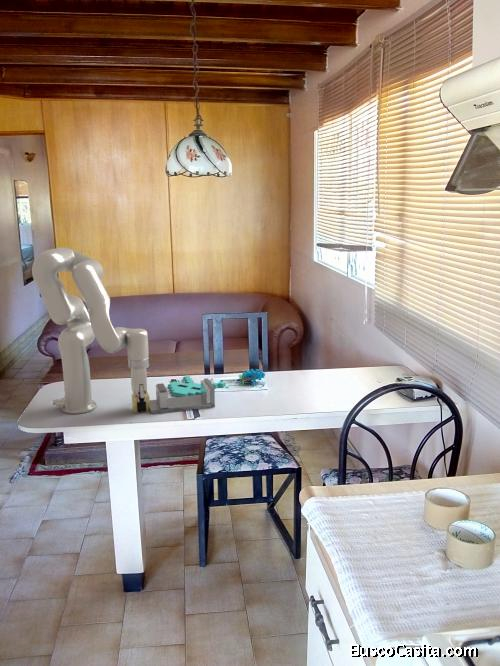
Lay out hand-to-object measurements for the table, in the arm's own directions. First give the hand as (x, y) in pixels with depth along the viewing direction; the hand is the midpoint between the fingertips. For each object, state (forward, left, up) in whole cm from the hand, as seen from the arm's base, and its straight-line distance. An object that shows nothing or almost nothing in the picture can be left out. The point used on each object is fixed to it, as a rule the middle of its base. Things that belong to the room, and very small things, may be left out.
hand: (141, 408), depth 209 cm
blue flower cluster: (+49, +16, -1) cm, 51 cm away
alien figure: (+23, +17, -1) cm, 28 cm away
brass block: (0, 0, -1) cm, 1 cm away
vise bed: (+15, 0, -1) cm, 15 cm away
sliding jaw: (+8, 0, +1) cm, 8 cm away
